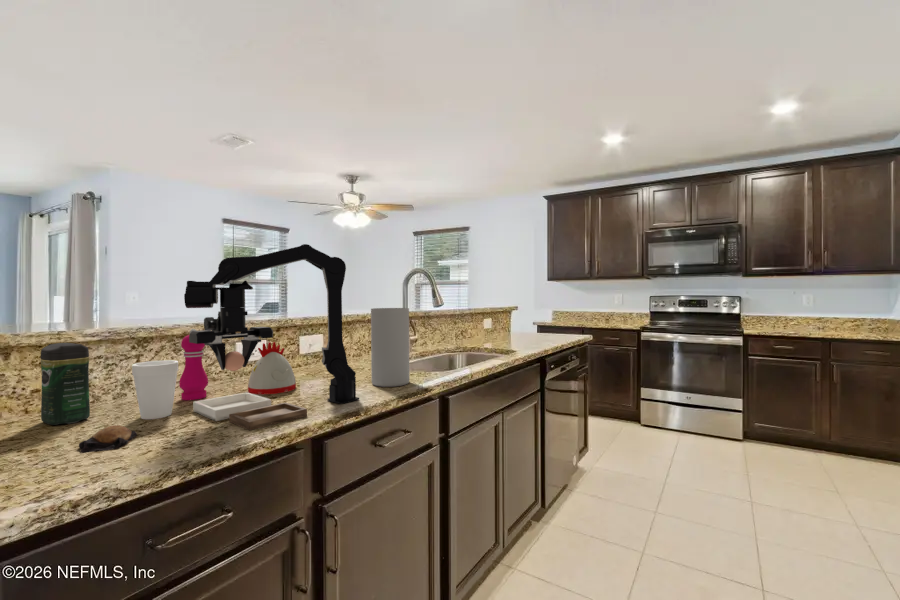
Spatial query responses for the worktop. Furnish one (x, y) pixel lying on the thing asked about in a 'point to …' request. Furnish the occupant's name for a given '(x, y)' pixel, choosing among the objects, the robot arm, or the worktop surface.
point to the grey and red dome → (271, 372)
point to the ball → (234, 361)
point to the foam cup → (155, 387)
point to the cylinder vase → (390, 346)
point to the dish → (229, 405)
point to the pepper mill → (193, 371)
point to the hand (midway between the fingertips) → (233, 368)
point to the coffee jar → (65, 383)
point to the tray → (267, 415)
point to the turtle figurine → (108, 439)
